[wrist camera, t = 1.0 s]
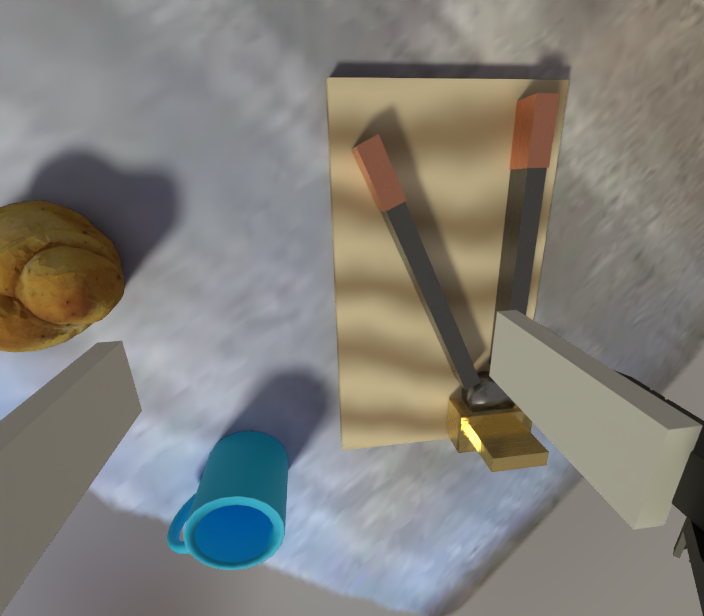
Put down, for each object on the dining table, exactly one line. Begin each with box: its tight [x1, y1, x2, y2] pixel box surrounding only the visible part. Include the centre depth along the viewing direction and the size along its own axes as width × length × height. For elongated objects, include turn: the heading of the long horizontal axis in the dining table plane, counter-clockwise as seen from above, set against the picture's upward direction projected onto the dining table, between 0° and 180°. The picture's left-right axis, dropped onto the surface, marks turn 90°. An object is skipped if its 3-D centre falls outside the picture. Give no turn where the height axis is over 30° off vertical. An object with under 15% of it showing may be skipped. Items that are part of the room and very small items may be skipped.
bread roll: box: [0, 201, 125, 352], centre depth 25 cm, size 13×10×8 cm
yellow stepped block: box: [446, 398, 549, 472], centre depth 33 cm, size 4×7×7 cm, turn 91°
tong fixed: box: [462, 93, 560, 412], centre depth 31 cm, size 28×4×2 cm, turn 1°
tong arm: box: [352, 134, 481, 390], centre depth 30 cm, size 23×2×2 cm, turn 26°
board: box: [326, 77, 569, 450], centre depth 33 cm, size 33×19×2 cm, turn 1°
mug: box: [167, 431, 288, 570], centre depth 33 cm, size 12×8×8 cm
